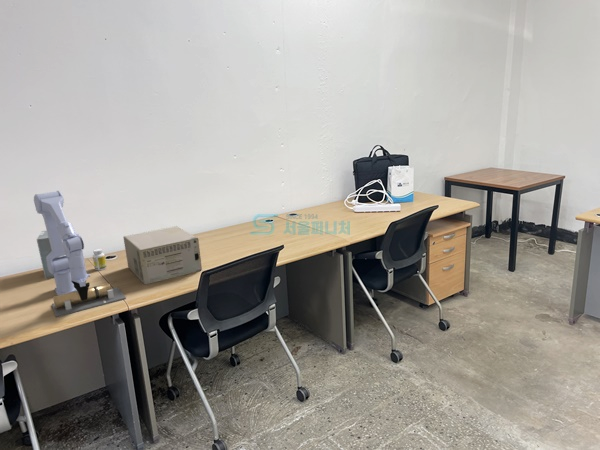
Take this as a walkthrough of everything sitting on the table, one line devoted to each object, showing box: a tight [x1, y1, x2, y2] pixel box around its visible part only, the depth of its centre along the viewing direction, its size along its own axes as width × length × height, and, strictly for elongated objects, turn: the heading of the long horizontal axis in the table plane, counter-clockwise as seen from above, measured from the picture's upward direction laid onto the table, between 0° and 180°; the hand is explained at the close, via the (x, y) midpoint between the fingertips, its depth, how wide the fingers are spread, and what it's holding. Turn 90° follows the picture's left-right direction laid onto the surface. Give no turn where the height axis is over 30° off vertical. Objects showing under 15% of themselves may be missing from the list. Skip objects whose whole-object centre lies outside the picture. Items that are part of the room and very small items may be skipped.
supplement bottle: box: [92, 248, 108, 271], centre depth 221 cm, size 5×5×10 cm
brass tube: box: [52, 283, 112, 309], centre depth 182 cm, size 5×21×5 cm, turn 124°
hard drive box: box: [36, 230, 63, 279], centre depth 218 cm, size 16×8×20 cm, turn 21°
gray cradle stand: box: [51, 286, 127, 318], centre depth 184 cm, size 14×26×4 cm, turn 124°
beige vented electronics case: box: [123, 225, 203, 285], centre depth 216 cm, size 27×29×16 cm
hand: (83, 297), depth 182 cm, fingers closed on brass tube, 5 cm apart
